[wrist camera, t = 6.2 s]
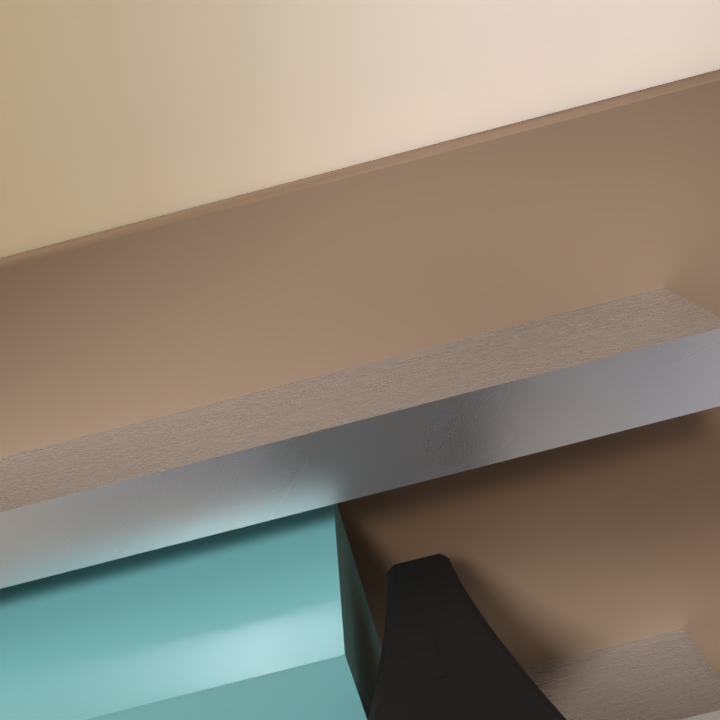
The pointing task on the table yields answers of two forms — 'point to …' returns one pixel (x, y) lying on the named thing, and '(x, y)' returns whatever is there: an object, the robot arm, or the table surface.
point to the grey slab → (389, 462)
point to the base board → (420, 331)
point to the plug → (198, 631)
